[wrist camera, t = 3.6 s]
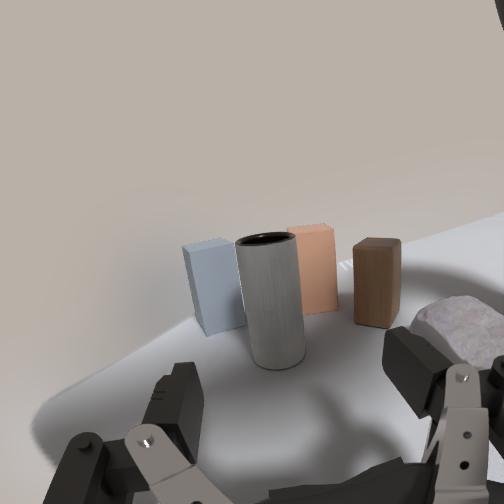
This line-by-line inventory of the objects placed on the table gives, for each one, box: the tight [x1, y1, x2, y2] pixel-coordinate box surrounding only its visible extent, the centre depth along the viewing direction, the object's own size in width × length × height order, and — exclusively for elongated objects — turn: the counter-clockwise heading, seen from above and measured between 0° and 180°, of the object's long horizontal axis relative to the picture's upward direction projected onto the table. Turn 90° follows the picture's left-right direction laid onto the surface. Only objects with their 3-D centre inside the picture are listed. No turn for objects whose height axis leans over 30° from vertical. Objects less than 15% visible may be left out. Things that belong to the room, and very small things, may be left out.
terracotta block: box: [287, 224, 338, 315], centre depth 31 cm, size 4×4×9 cm
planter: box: [235, 232, 305, 370], centre depth 22 cm, size 4×4×10 cm
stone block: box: [409, 295, 504, 371], centre depth 15 cm, size 12×5×10 cm
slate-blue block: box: [182, 238, 247, 336], centre depth 30 cm, size 4×4×9 cm
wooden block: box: [353, 237, 401, 328], centre depth 25 cm, size 4×4×8 cm
